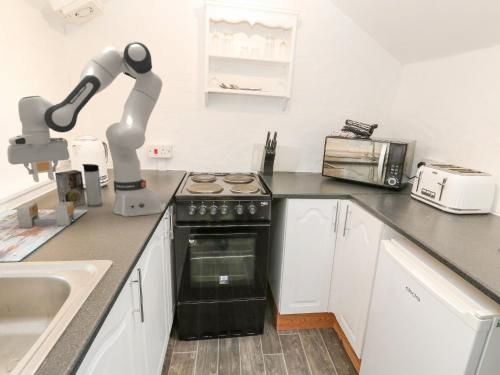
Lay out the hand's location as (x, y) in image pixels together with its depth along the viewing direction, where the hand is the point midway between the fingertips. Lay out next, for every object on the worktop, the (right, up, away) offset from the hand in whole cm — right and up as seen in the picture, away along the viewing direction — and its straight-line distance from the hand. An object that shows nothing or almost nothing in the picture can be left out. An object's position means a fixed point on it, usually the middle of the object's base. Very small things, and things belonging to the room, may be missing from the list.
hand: (42, 172), depth 120 cm
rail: (+5, -20, -4) cm, 21 cm away
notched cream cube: (0, -3, +1) cm, 3 cm away
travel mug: (+10, -15, +21) cm, 28 cm away
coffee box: (0, -15, +20) cm, 25 cm away
